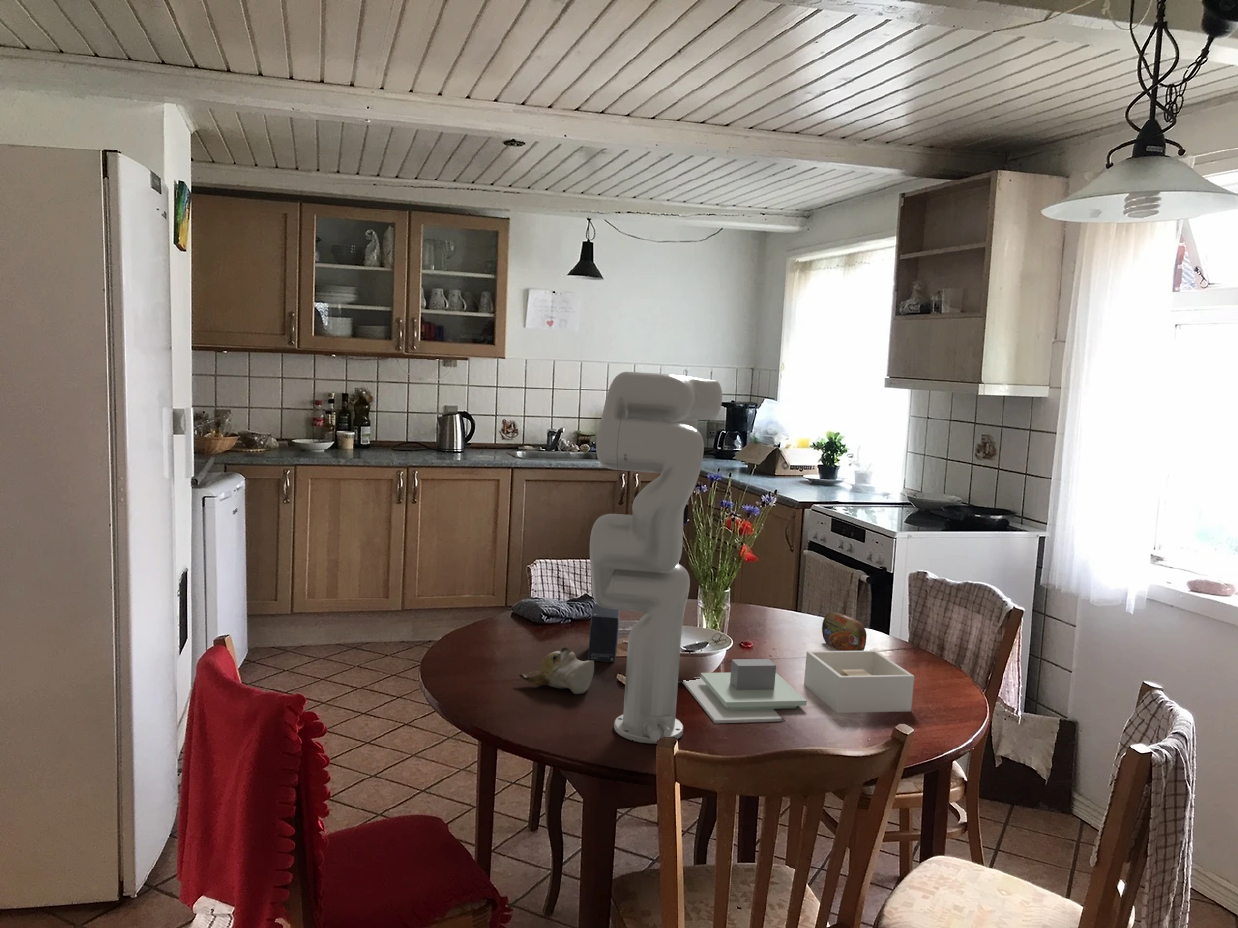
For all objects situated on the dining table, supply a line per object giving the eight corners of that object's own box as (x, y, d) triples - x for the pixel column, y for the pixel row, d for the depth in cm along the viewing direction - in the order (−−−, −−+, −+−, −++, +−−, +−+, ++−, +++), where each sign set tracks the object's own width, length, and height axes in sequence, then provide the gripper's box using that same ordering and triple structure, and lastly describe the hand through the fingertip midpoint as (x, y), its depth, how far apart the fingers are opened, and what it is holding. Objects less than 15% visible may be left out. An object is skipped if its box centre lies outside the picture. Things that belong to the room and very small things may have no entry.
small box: (616, 663, 207) (619, 617, 206) (587, 661, 207) (589, 615, 206) (617, 648, 217) (620, 604, 216) (589, 647, 217) (592, 603, 216)
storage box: (910, 714, 186) (914, 676, 185) (836, 716, 183) (839, 677, 182) (872, 686, 202) (875, 650, 201) (803, 687, 198) (806, 651, 197)
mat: (827, 720, 181) (828, 717, 181) (714, 723, 176) (714, 720, 176) (782, 679, 203) (782, 676, 203) (681, 680, 198) (681, 678, 198)
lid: (805, 711, 183) (808, 676, 182) (725, 713, 179) (727, 677, 179) (774, 681, 199) (777, 649, 198) (700, 683, 196) (702, 649, 195)
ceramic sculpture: (578, 659, 181) (516, 647, 189) (578, 703, 181) (516, 689, 189) (607, 647, 190) (547, 636, 198) (607, 688, 191) (547, 676, 198)
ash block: (872, 701, 190) (874, 677, 190) (850, 702, 189) (852, 678, 189) (861, 692, 195) (863, 669, 195) (839, 693, 194) (841, 669, 193)
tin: (819, 641, 233) (822, 608, 232) (830, 640, 235) (833, 607, 234) (855, 660, 220) (859, 625, 219) (866, 659, 221) (870, 624, 220)
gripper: (708, 442, 186) (702, 527, 188) (684, 434, 203) (678, 512, 205) (671, 441, 185) (666, 526, 187) (650, 433, 201) (645, 511, 203)
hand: (672, 519), depth 196 cm, fingers open, 9 cm apart
